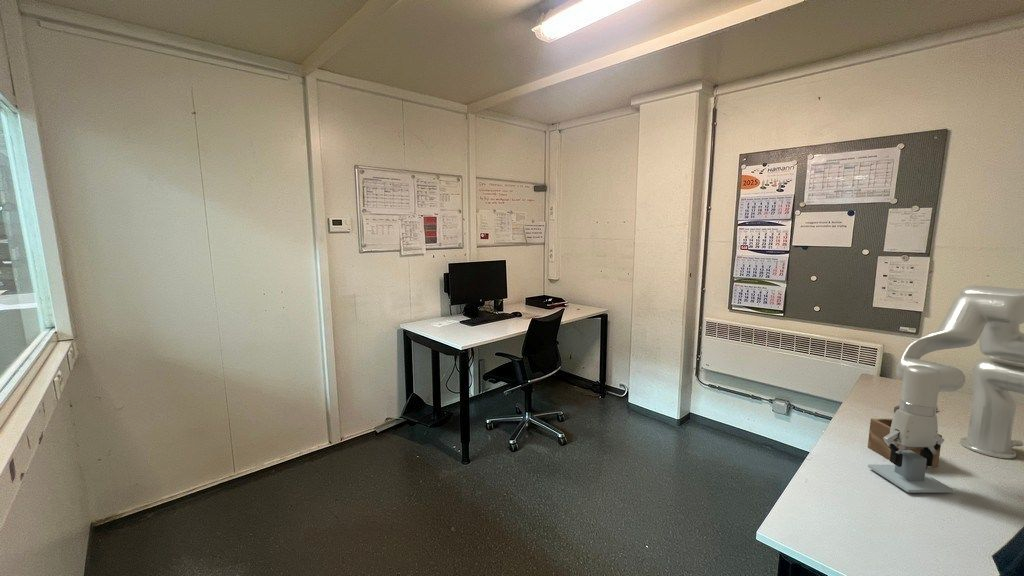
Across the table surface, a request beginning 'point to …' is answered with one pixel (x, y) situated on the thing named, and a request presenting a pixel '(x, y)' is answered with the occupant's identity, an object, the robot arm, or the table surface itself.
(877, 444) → the box
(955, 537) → the table surface
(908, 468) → the lid
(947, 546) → the table surface
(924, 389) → the robot arm
